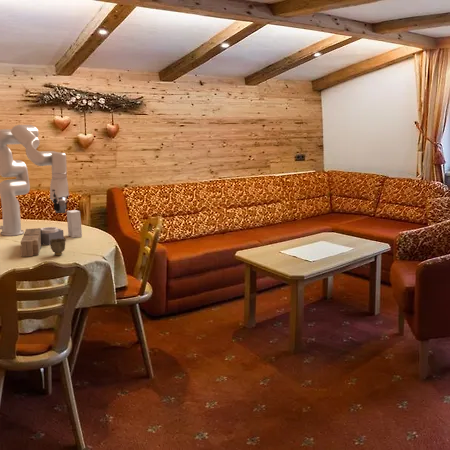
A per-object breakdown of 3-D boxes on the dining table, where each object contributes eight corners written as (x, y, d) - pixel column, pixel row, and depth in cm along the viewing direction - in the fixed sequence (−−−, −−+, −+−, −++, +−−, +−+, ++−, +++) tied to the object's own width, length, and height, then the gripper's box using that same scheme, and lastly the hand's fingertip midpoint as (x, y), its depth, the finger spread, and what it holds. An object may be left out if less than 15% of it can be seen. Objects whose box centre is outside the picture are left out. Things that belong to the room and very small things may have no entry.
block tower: (38, 257, 247) (42, 242, 275) (37, 240, 246) (41, 227, 273) (21, 258, 245) (26, 242, 273) (20, 241, 243) (25, 227, 271)
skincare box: (82, 237, 290) (81, 211, 288) (71, 238, 287) (70, 212, 284) (77, 234, 297) (76, 209, 294) (67, 235, 294) (66, 210, 291)
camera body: (35, 243, 273) (34, 230, 271) (50, 239, 284) (49, 226, 282) (49, 245, 270) (48, 231, 268) (63, 240, 281) (63, 227, 279)
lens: (53, 212, 269) (52, 197, 267) (59, 211, 274) (59, 196, 272) (62, 213, 267) (62, 198, 265) (69, 212, 272) (68, 197, 270)
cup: (52, 253, 253) (51, 237, 252) (67, 253, 254) (67, 237, 252) (48, 257, 246) (48, 241, 244) (64, 257, 247) (63, 241, 245)
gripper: (63, 174, 276) (64, 206, 280) (42, 177, 260) (44, 211, 264) (75, 175, 273) (76, 208, 277) (54, 178, 258) (55, 213, 261)
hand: (60, 209), depth 270 cm, fingers closed on lens, 5 cm apart
